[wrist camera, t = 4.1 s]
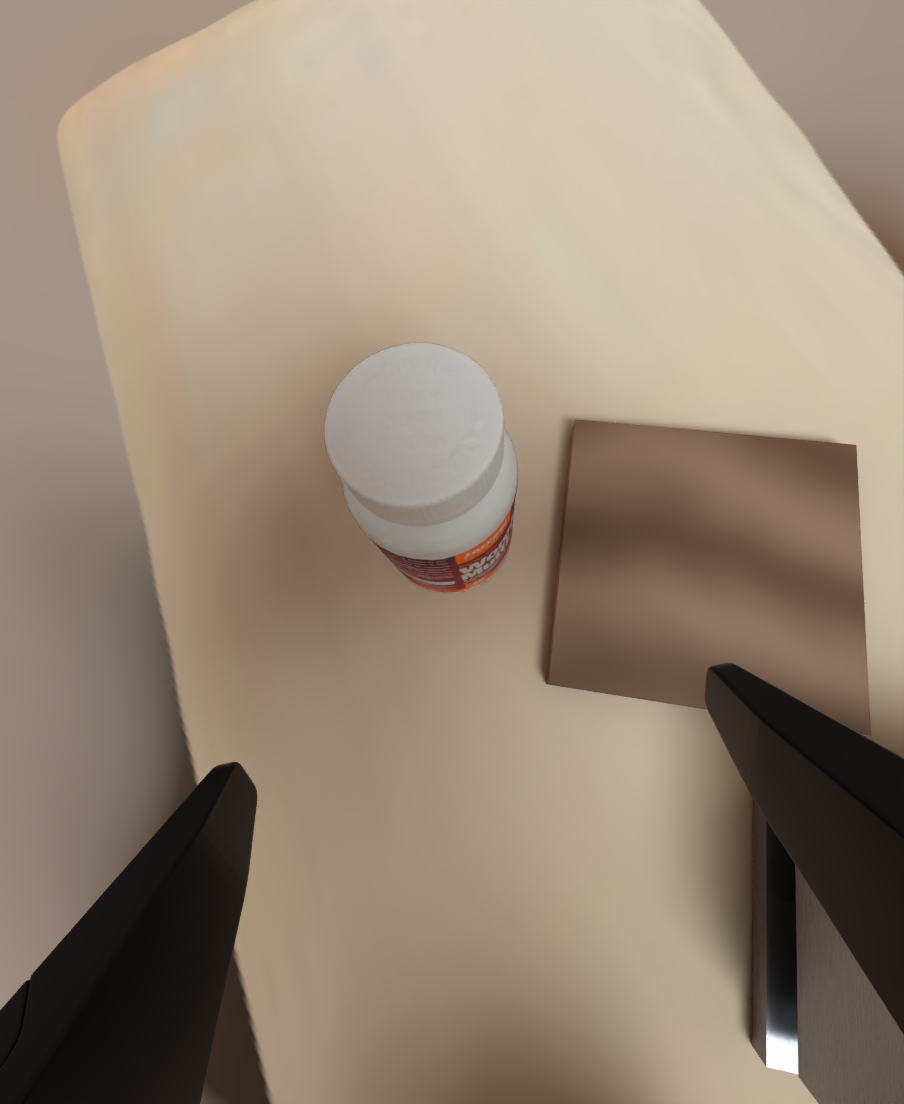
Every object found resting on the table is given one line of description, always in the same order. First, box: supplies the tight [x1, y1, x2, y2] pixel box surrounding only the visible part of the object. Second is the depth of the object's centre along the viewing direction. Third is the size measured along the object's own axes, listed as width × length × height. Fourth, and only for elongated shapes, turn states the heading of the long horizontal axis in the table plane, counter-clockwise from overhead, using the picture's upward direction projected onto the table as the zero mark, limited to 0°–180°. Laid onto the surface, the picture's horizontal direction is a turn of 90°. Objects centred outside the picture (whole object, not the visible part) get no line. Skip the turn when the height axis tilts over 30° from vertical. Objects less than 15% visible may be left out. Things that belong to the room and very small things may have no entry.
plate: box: [546, 420, 871, 735], centre depth 22 cm, size 13×13×1 cm
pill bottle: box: [324, 343, 518, 594], centre depth 19 cm, size 6×6×11 cm
